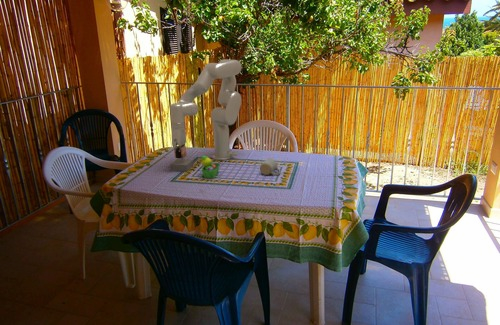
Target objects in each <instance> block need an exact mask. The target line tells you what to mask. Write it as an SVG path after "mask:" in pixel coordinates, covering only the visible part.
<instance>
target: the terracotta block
mask: <svg viewBox="0 0 500 325" xmlns="http://www.w3.org/2000/svg"><path fill="white" fill-rule="evenodd" d="M177 148H178V149H179V147H177ZM173 150H174V152H173V153H174V158H175V159H177V158H176V152H175V149H174V148H173ZM180 151H181V157H182V158H180V159H186V157H187V146H186V145H185V146H181V148H180Z"/></svg>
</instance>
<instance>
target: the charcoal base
mask: <svg viewBox="0 0 500 325" xmlns="http://www.w3.org/2000/svg"><path fill="white" fill-rule="evenodd" d="M169 166H170V171H171V172H181V173H182V172H183V173H185V172H186V173H187V172H189V171H191V169H193V167H194V159H187V158H183V159H181V158H175V160H174V161H172V162H171V163H170V164H169Z"/></svg>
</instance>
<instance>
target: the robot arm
mask: <svg viewBox="0 0 500 325" xmlns="http://www.w3.org/2000/svg"><path fill="white" fill-rule="evenodd" d="M242 68H243V67H242V63H241V62H240V61H239V60H237V59H224V58H223V59H221V60H219V61H218V63H217V62H208V63H207V64H205V65H204V67H203V69H202V70H201V73H200V74H199V75H198V78H197V79H196V81H195V82H194V83H193V84H192V85H191V86H190V87H189V88H188V89H187V90H185V91H184V92H183V94H182V95H181V97H180V98H179V101H178V102H176V103H171V104H170V105H169V109H170V120H171V121H170V122H171V146H172V147H173V150H174V149H175V152H176V158H175V159H181V158H182V157H181V151H180V148H181V146H186V142H187V134H186V121H185V120H186V116H187V117H192V116H195V115H197V114H198V113H199V109H200V108H199V106H198V104H197V103H195V102H193V101H194V100H195V99H196V98H197V97H200V96H201V95H204V94H206V93H208V92H209V90H210V88H211V87H212V84H214V81H215V80H216V79H222V80H221V86H220V89H219V92H218V93H219V94H218V96H217V102H218V104H220V106H221V107H220V106H216V107H214V108H213V109H212V110H211V113H210V117H211V118H210V119H211V124H212V129H213V145H214V154H212V160H213V159H214V160H217V161H226V160H230V159H232V158H233V156H235V157H236V156H237V152H236V151H232V149H231V148H230V147H231V146H230V128H229V126H232V125H234V124H235V123H236V121H237V119H238V115H239V113H240V108H241V106H242V96H241V94H240V93H239V92H238V91H236V87H237V79H236V75H239V74H240V73H241V71H242ZM223 106H224V107H223ZM177 147H179V149H178V148H177Z"/></svg>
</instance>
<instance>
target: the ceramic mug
mask: <svg viewBox="0 0 500 325" xmlns="http://www.w3.org/2000/svg"><path fill="white" fill-rule="evenodd" d="M259 171H260V173H261V174H262V175H265V176H269V175H274V176H279V175H280V174H281V170H280V168H278V163H277V161H276V160H275V159H274V158H271V157H269V158H266V159H265V160H264V161H263V162H261V164H260V167H259Z"/></svg>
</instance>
